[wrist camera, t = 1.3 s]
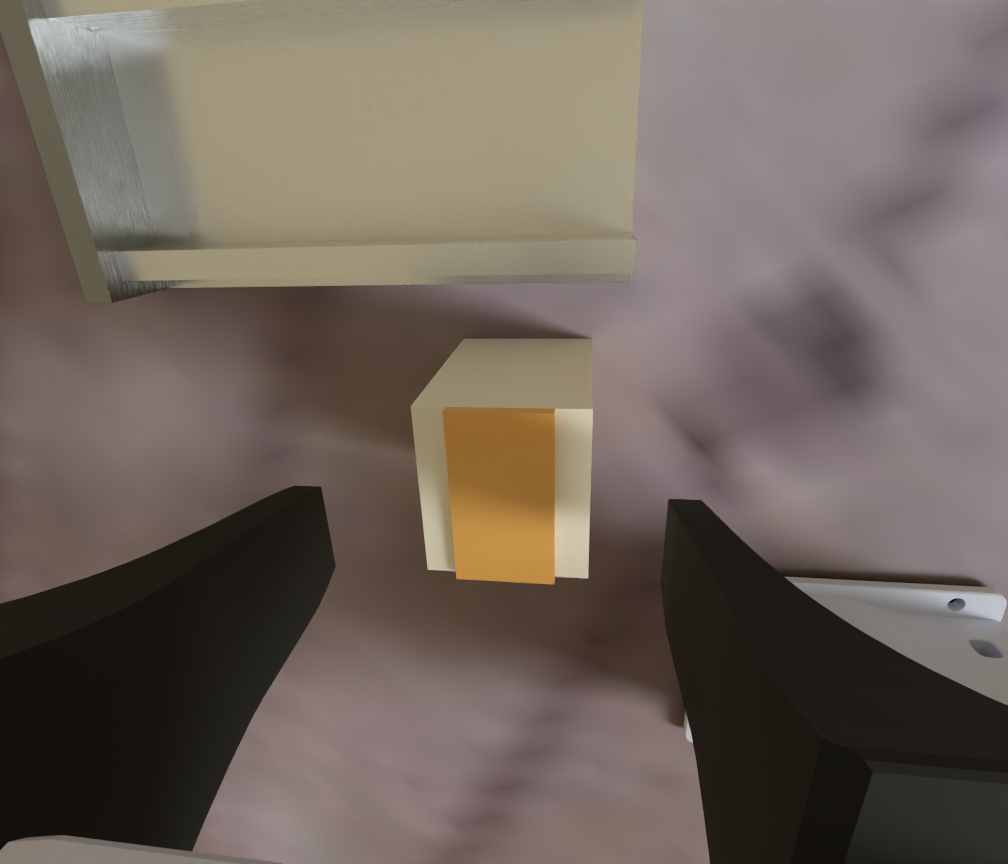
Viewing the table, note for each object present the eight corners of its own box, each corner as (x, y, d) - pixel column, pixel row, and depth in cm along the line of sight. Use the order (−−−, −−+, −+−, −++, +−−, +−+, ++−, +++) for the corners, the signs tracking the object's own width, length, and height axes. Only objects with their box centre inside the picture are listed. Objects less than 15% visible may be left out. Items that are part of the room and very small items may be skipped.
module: (591, 338, 18) (592, 414, 12) (588, 467, 20) (588, 586, 14) (463, 338, 18) (406, 411, 13) (471, 463, 20) (424, 577, 14)
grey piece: (645, -69, 14) (658, -129, 11) (627, 278, 17) (635, 298, 14) (79, -16, 16) (-27, -56, 13) (158, 284, 19) (86, 303, 16)
